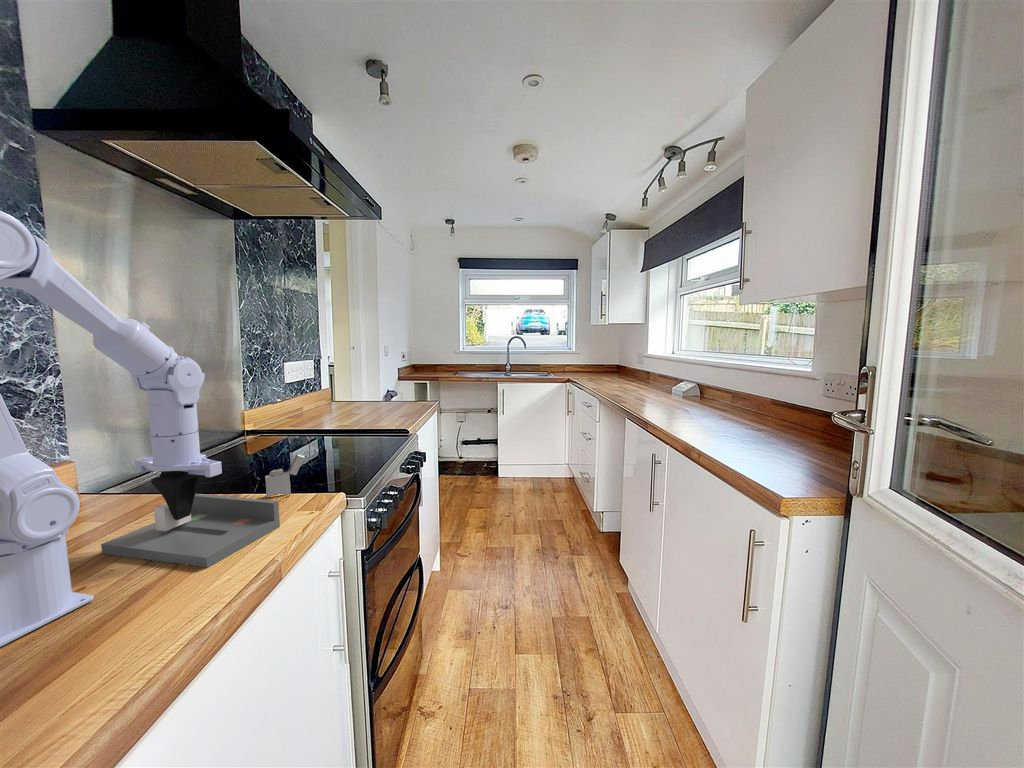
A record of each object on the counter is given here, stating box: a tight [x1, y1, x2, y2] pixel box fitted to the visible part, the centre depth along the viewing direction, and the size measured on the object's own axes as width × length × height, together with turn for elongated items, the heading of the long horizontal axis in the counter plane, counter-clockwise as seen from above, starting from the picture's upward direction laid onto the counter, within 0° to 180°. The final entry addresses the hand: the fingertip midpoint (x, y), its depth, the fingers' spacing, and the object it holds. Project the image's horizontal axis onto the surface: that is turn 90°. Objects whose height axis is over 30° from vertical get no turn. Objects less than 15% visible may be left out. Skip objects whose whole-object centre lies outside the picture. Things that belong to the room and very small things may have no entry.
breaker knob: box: [153, 502, 191, 531], centre depth 64 cm, size 4×2×4 cm, turn 168°
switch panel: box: [100, 493, 281, 569], centre depth 63 cm, size 13×19×4 cm
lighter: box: [264, 452, 305, 498], centre depth 83 cm, size 7×2×8 cm, turn 127°
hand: (182, 517), depth 64 cm, fingers closed
